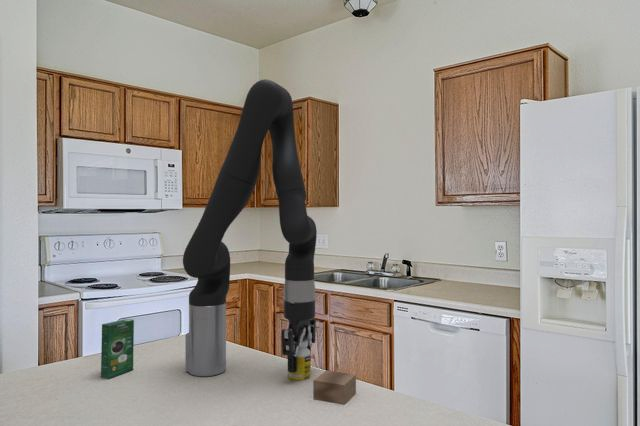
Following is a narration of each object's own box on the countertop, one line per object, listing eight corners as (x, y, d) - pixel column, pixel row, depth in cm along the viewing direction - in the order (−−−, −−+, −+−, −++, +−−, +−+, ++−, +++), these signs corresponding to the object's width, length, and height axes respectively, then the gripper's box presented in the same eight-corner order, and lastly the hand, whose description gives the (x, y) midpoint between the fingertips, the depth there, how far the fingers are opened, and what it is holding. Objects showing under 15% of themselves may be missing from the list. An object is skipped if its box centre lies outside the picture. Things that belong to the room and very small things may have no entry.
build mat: (292, 402, 105) (292, 396, 105) (316, 383, 116) (316, 379, 116) (346, 411, 100) (346, 406, 100) (365, 391, 111) (365, 386, 111)
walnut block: (313, 399, 103) (313, 380, 103) (326, 388, 110) (326, 370, 110) (344, 404, 101) (344, 385, 101) (355, 393, 107) (355, 374, 107)
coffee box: (126, 368, 127) (126, 317, 127) (134, 369, 125) (134, 318, 125) (100, 377, 119) (100, 324, 119) (108, 379, 118) (108, 325, 118)
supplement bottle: (307, 385, 114) (307, 344, 114) (285, 384, 115) (285, 342, 115) (312, 378, 120) (312, 338, 120) (291, 376, 121) (291, 336, 121)
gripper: (298, 292, 126) (298, 357, 126) (270, 302, 112) (270, 374, 112) (325, 294, 122) (325, 360, 123) (300, 304, 109) (300, 378, 109)
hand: (299, 367), depth 117 cm, fingers open, 7 cm apart
